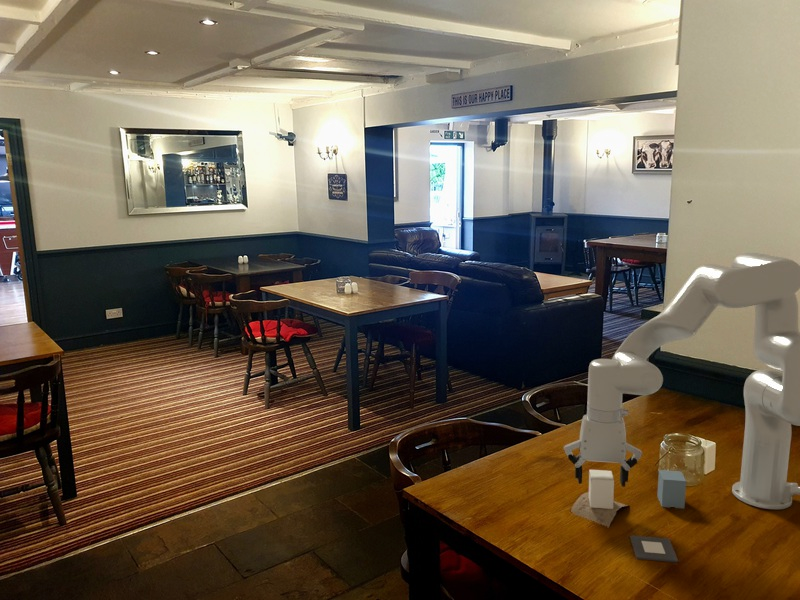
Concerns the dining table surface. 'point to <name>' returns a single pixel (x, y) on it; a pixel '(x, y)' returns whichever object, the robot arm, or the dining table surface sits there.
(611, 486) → the cream block
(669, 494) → the slate-blue block
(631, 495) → the dining table surface
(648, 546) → the card
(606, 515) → the clay tablet
